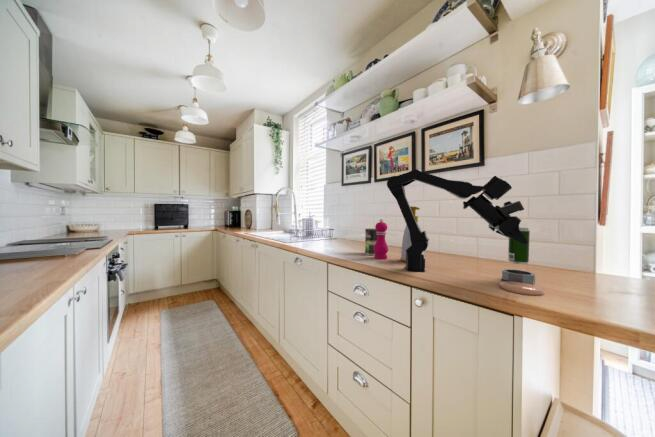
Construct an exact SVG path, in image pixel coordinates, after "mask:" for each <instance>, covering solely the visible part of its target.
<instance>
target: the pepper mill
mask: <svg viewBox="0 0 655 437" xmlns="http://www.w3.org/2000/svg"><path fill="white" fill-rule="evenodd" d="M374 229H376V230H377V232H376V234H377V242H376V244H375V246H374V252H375V253H376V254H375V256H374V259H376V260H377V259H378V260H386V259H388V254H387V253H389V247H388V244H387V242H386V235H387V230H388V224H387V223H386V222H384V220H383V219H382V218H380V219H379V222H376V224H375V226H374Z"/></svg>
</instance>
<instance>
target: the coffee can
mask: <svg viewBox="0 0 655 437" xmlns="http://www.w3.org/2000/svg"><path fill="white" fill-rule="evenodd" d="M364 230H365V234H364V235H365V238H364V239H365V240H364V242H365V244H364V245H365V247H364V254H365V255H367V256H373V257H375V254H376V253H375V252H374V246H375V244H376V242H377V234H376V232H377V230H376V229H375V228H365V229H364Z"/></svg>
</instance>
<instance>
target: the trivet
mask: <svg viewBox="0 0 655 437" xmlns="http://www.w3.org/2000/svg"><path fill="white" fill-rule="evenodd" d="M500 288H501V289H503V290H506V291H509V292H511V293H515V294H521V295H527V296H543V295H544V294H545V289H544V288H543V287H541V286H538V285H535V284H533V285H531V284H526V283H520V282H510V281H506V280H505V281H501V282H500Z"/></svg>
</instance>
